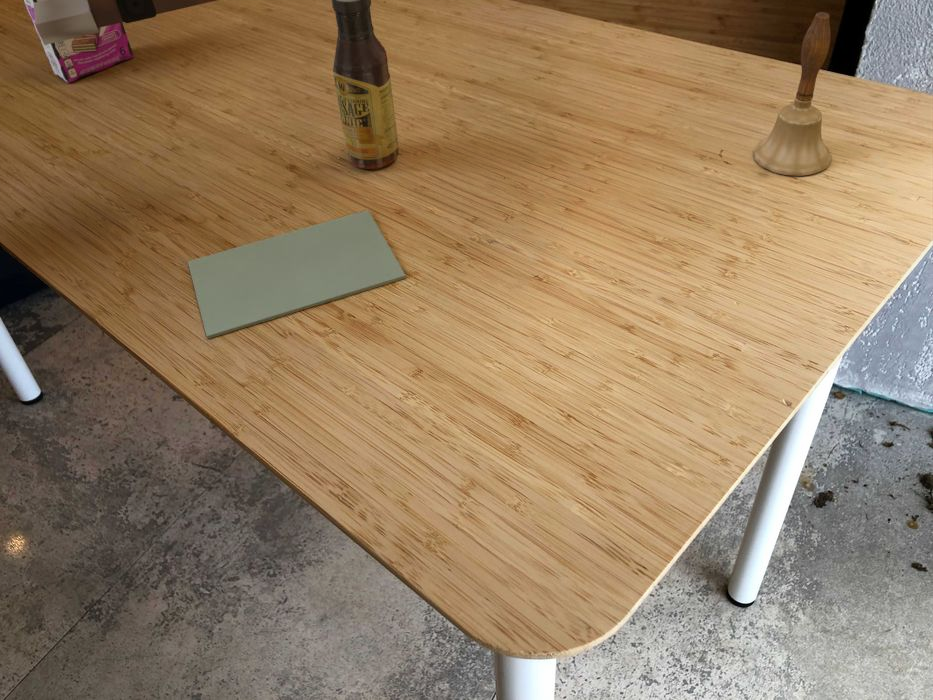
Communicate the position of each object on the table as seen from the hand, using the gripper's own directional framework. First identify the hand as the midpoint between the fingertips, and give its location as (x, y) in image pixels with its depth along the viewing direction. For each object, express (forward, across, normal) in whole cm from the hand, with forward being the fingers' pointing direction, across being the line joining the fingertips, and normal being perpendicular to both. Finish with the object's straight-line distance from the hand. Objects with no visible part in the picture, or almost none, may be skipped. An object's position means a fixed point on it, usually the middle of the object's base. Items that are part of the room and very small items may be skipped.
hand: (137, 9), depth 83 cm
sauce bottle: (+23, -1, -20) cm, 30 cm away
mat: (+22, -18, -6) cm, 29 cm away
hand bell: (+23, -25, -62) cm, 71 cm away
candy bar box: (+23, +46, +9) cm, 52 cm away
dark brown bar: (0, 0, 0) cm, 1 cm away
